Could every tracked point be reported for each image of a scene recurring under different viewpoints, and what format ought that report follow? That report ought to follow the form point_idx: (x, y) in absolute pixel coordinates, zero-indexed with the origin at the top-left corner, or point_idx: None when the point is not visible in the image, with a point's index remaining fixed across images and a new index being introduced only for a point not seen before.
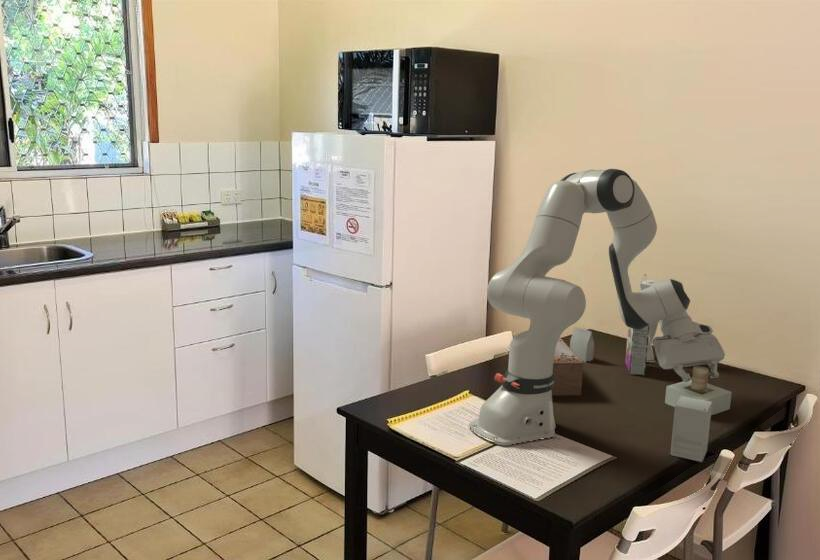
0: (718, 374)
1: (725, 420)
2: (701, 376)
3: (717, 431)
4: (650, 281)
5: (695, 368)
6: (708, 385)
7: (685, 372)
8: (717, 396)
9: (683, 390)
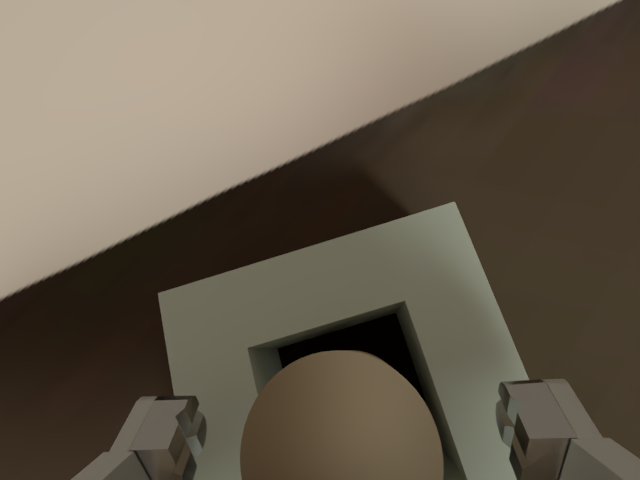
0: (141, 399)
1: (332, 192)
2: (384, 362)
3: (456, 98)
4: None
5: (423, 474)
6: (220, 458)
7: (592, 449)
8: (314, 245)
9: None
